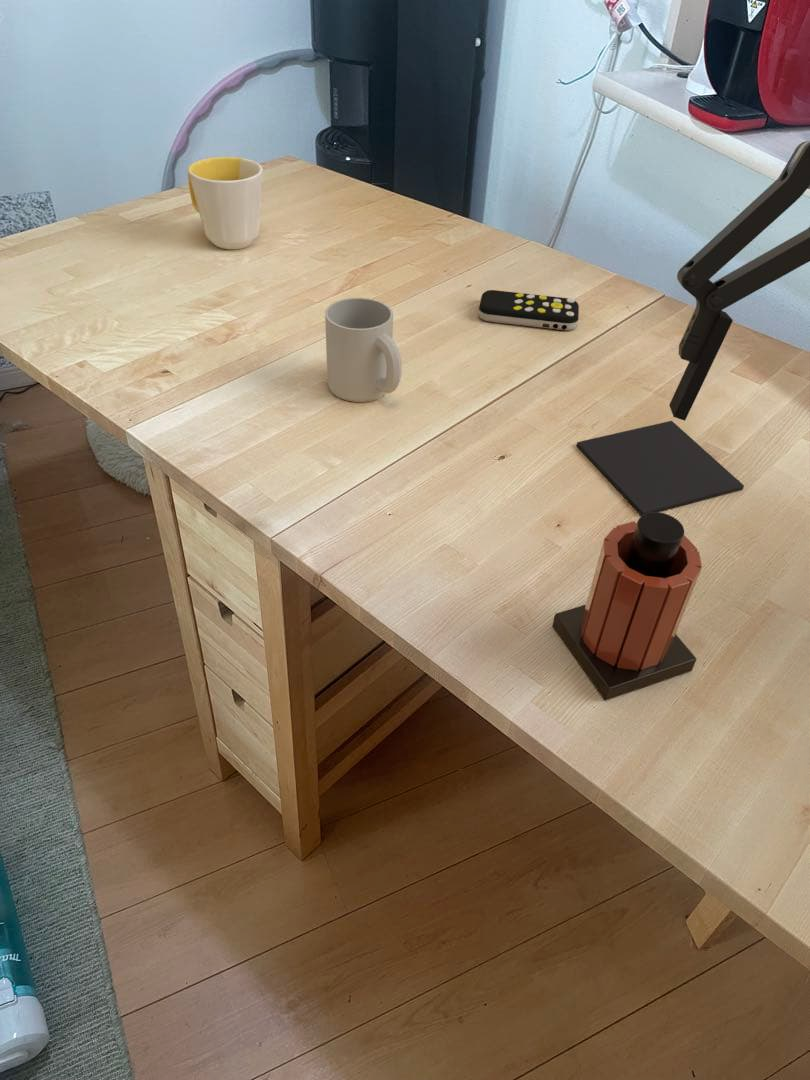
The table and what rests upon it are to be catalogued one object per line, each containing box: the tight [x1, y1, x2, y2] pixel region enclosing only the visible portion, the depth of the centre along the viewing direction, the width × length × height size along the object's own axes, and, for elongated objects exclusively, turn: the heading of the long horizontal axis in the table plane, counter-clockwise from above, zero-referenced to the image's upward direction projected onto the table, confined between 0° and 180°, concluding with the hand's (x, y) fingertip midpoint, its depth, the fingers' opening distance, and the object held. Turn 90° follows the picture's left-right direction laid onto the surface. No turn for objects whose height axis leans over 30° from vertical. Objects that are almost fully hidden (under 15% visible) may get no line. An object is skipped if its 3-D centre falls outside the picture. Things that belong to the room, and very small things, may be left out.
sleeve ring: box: [581, 520, 703, 670], centre depth 61 cm, size 7×7×9 cm
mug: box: [187, 156, 264, 250], centre depth 117 cm, size 14×10×10 cm
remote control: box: [478, 289, 580, 331], centre depth 105 cm, size 6×13×2 cm, turn 80°
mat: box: [576, 420, 745, 517], centre depth 83 cm, size 12×12×1 cm
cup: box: [324, 297, 403, 403], centre depth 88 cm, size 7×10×9 cm
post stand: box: [552, 512, 698, 701], centre depth 60 cm, size 8×8×13 cm
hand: (778, 448), depth 52 cm, fingers open, 13 cm apart
